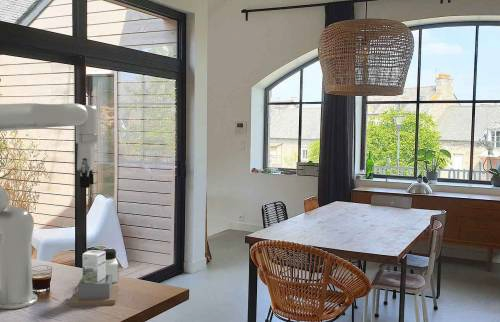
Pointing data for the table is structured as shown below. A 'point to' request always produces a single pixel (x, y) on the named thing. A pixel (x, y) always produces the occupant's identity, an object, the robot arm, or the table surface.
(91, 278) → the syrup box
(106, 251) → the medicine bottle
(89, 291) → the socket
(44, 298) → the table surface
